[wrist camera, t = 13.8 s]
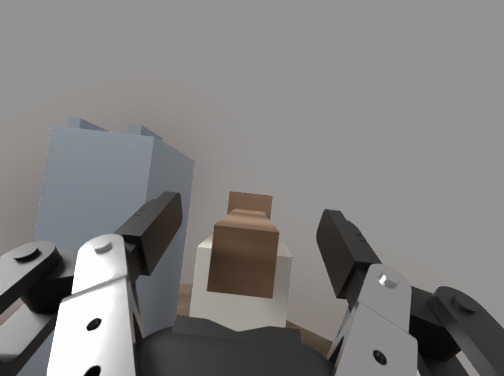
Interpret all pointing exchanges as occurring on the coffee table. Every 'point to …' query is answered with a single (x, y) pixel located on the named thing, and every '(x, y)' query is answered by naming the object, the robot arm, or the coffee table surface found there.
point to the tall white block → (240, 296)
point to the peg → (244, 248)
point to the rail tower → (111, 206)
